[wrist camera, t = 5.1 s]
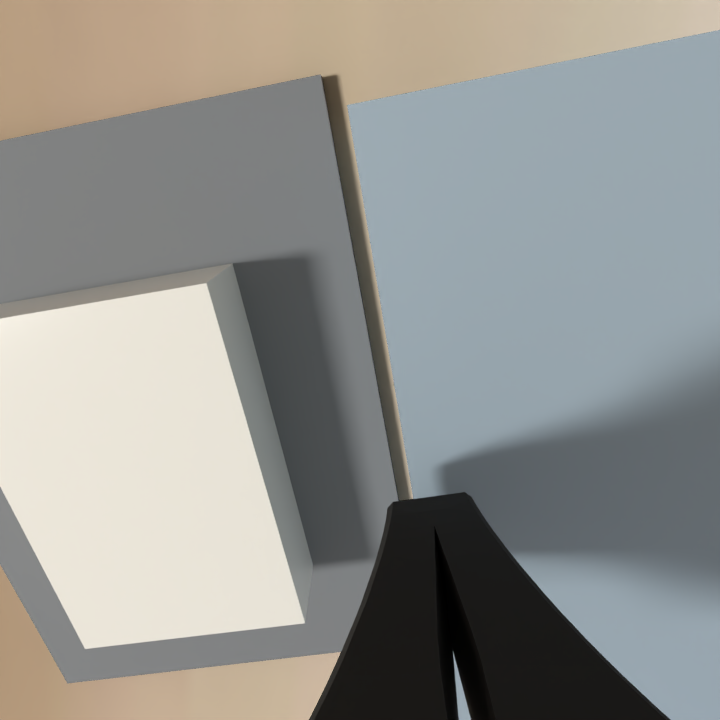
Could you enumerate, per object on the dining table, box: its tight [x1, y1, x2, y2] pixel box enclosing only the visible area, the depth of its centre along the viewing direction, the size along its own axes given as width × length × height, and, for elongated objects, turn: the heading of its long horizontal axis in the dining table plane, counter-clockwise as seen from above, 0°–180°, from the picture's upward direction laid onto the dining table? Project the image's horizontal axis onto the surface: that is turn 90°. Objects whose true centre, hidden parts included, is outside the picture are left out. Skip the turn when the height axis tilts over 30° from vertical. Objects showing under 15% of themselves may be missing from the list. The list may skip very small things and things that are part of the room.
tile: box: [0, 263, 313, 649], centre depth 12 cm, size 9×6×2 cm, turn 10°
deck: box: [347, 30, 720, 720], centre depth 11 cm, size 14×11×4 cm
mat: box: [0, 75, 399, 683], centre depth 14 cm, size 16×12×1 cm
